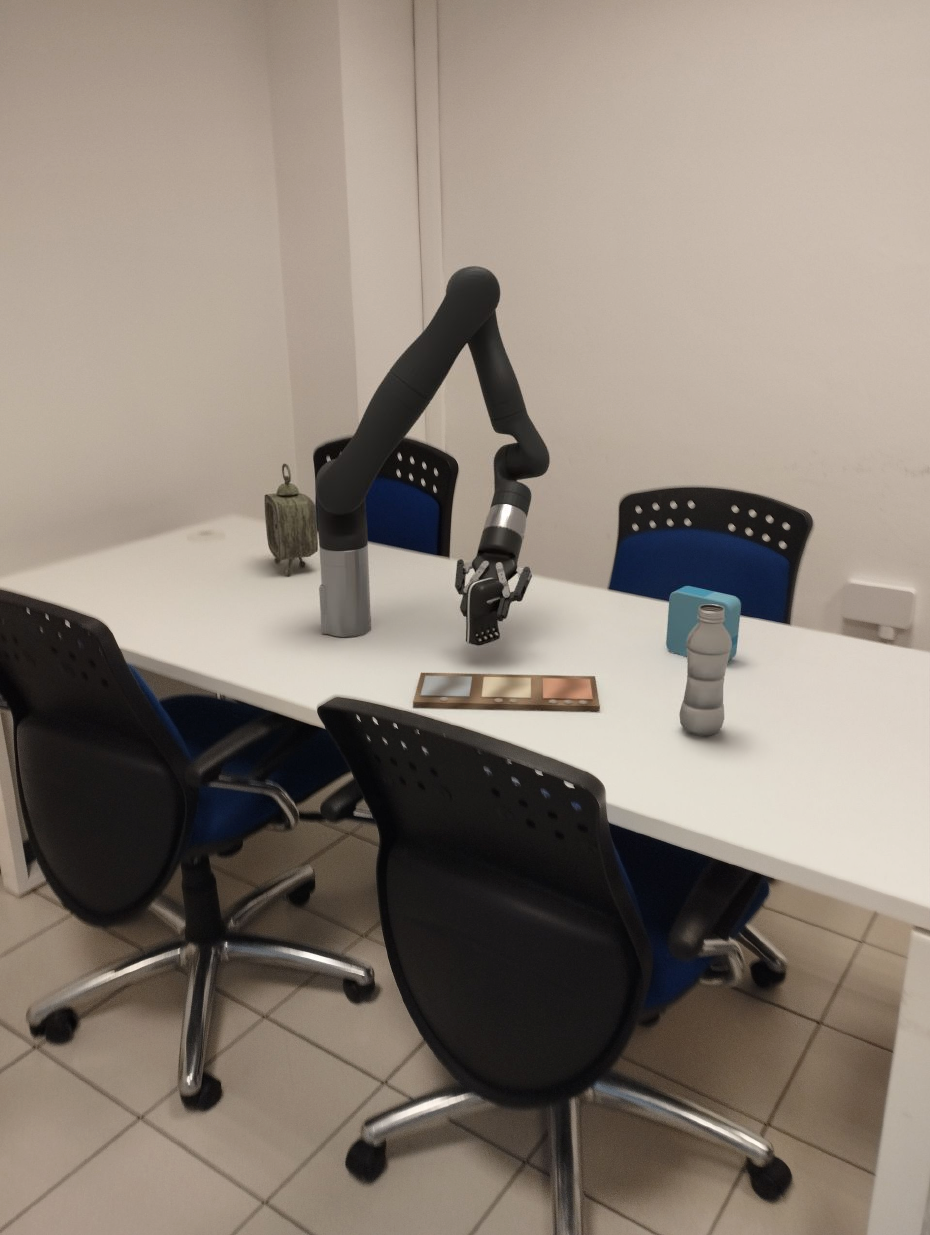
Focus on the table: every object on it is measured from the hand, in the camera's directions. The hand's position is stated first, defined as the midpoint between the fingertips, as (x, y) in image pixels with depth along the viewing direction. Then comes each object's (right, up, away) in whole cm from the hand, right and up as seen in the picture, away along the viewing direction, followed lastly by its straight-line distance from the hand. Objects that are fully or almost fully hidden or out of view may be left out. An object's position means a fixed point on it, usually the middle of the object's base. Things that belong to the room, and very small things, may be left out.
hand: (482, 616), depth 169 cm
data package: (+40, -7, +7) cm, 41 cm away
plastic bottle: (+33, -18, -22) cm, 43 cm away
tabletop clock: (-44, +11, +59) cm, 74 cm away
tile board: (+4, -13, -9) cm, 16 cm away
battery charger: (+1, -5, +3) cm, 6 cm away
